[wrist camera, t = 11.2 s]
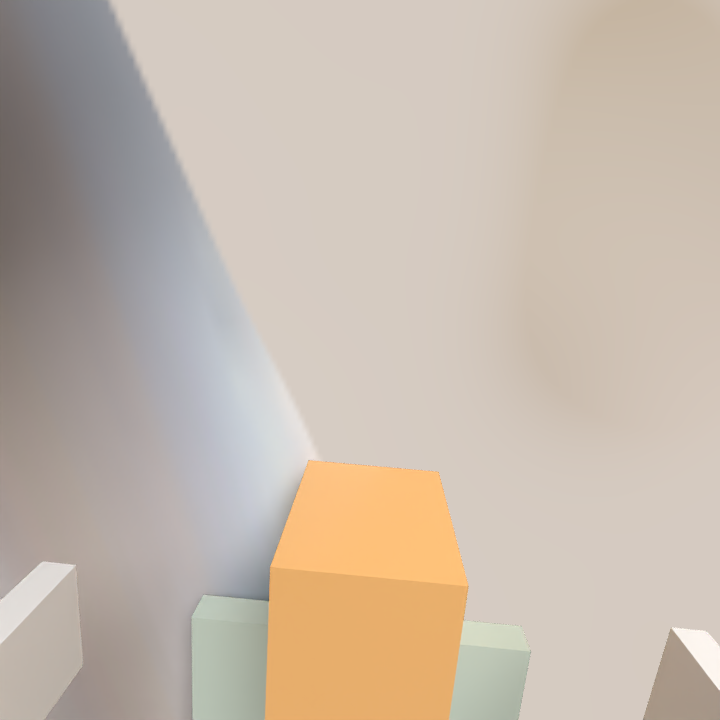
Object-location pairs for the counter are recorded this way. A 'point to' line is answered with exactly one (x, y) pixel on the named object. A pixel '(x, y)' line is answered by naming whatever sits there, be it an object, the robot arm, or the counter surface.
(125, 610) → the counter surface
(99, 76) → the counter surface
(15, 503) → the counter surface
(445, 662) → the lid
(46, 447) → the counter surface
